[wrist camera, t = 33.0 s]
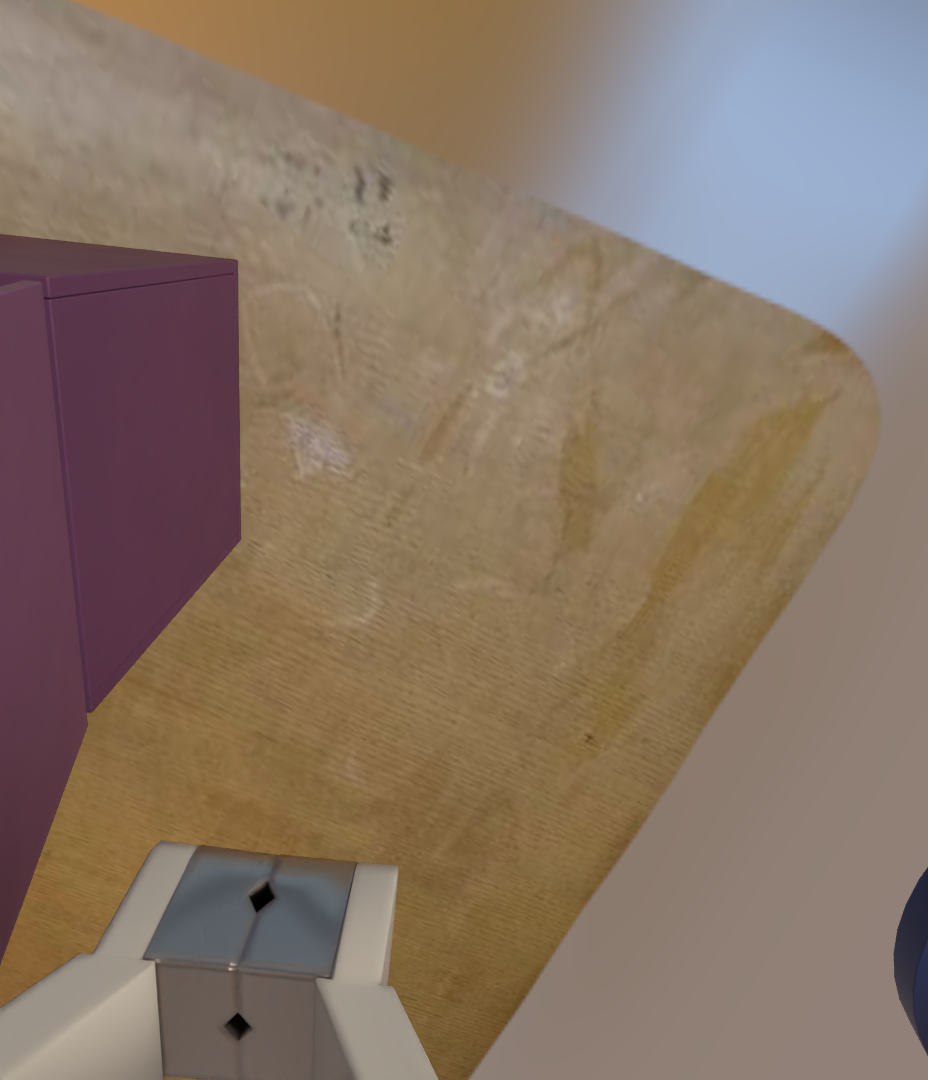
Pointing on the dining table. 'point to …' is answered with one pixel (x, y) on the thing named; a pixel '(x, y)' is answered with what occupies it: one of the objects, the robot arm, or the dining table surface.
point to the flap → (32, 603)
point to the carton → (138, 432)
